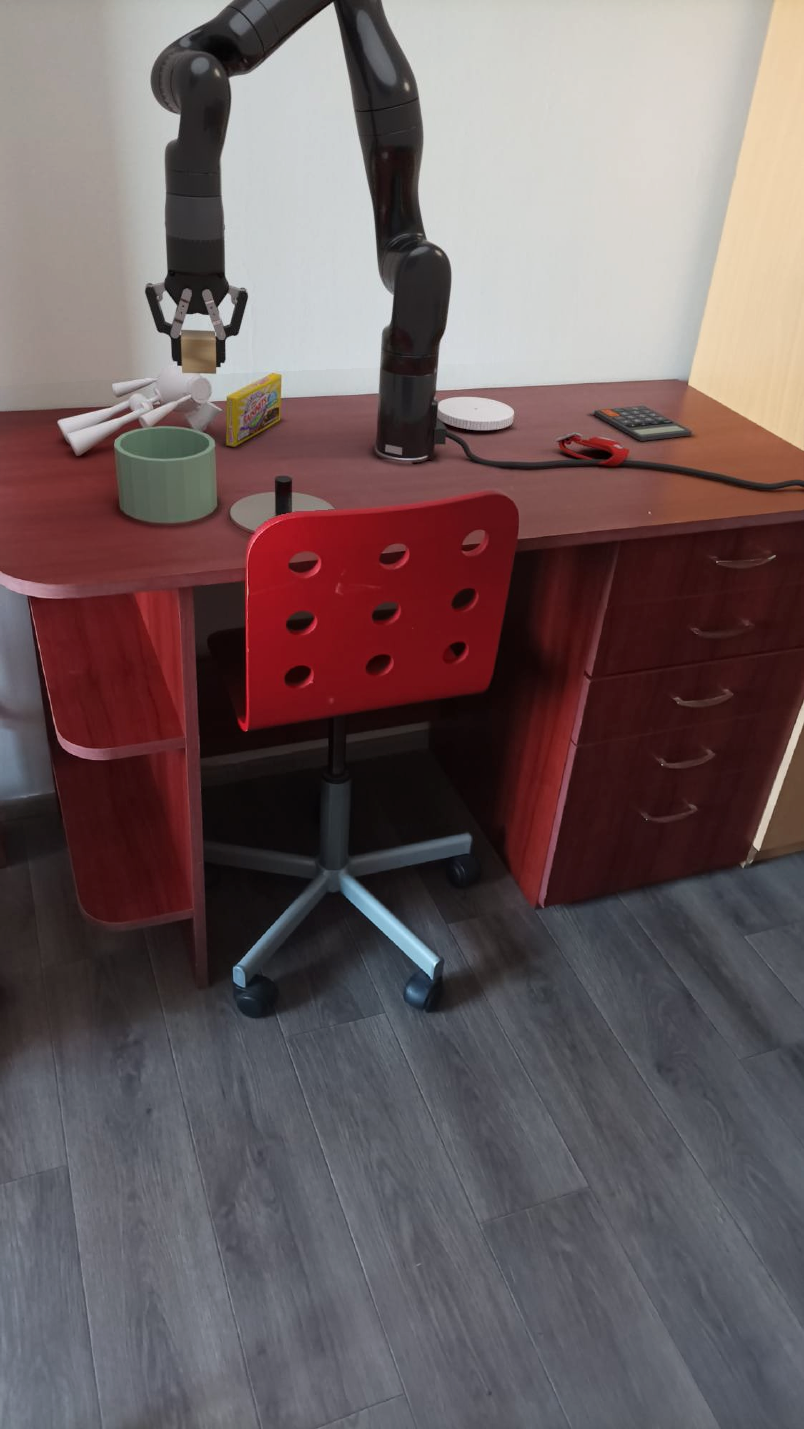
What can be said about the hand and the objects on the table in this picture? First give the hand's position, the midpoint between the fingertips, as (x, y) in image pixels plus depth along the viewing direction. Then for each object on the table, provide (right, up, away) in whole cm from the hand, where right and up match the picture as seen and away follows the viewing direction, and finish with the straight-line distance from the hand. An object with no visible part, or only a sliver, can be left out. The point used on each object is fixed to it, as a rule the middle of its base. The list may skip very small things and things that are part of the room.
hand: (199, 364), depth 144 cm
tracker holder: (+61, -4, +35) cm, 70 cm away
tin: (-5, -19, +5) cm, 20 cm away
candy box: (+3, -1, +33) cm, 33 cm away
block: (0, 0, 0) cm, 1 cm away
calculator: (+73, +5, +50) cm, 89 cm away
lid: (+11, -20, +4) cm, 24 cm away
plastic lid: (+41, +4, +45) cm, 61 cm away
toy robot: (-14, -4, +27) cm, 30 cm away
